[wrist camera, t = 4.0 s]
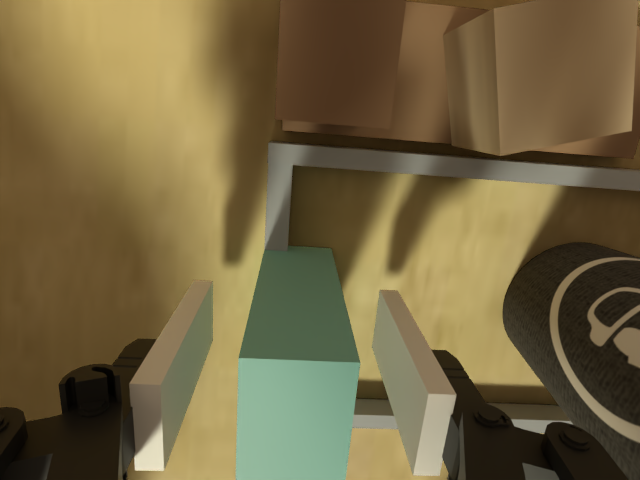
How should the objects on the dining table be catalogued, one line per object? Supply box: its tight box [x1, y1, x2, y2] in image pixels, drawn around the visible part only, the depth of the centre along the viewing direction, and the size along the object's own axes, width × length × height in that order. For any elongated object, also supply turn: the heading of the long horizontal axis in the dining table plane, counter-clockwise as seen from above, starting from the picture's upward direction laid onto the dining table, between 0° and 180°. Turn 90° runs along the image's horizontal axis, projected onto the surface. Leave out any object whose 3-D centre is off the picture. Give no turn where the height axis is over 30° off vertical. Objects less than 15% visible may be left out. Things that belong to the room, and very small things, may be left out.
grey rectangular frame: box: [236, 141, 640, 480], centre depth 16 cm, size 22×14×9 cm, turn 85°
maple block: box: [443, 0, 638, 156], centre depth 14 cm, size 4×4×4 cm
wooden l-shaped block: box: [275, 0, 640, 159], centre depth 14 cm, size 15×5×7 cm, turn 85°
